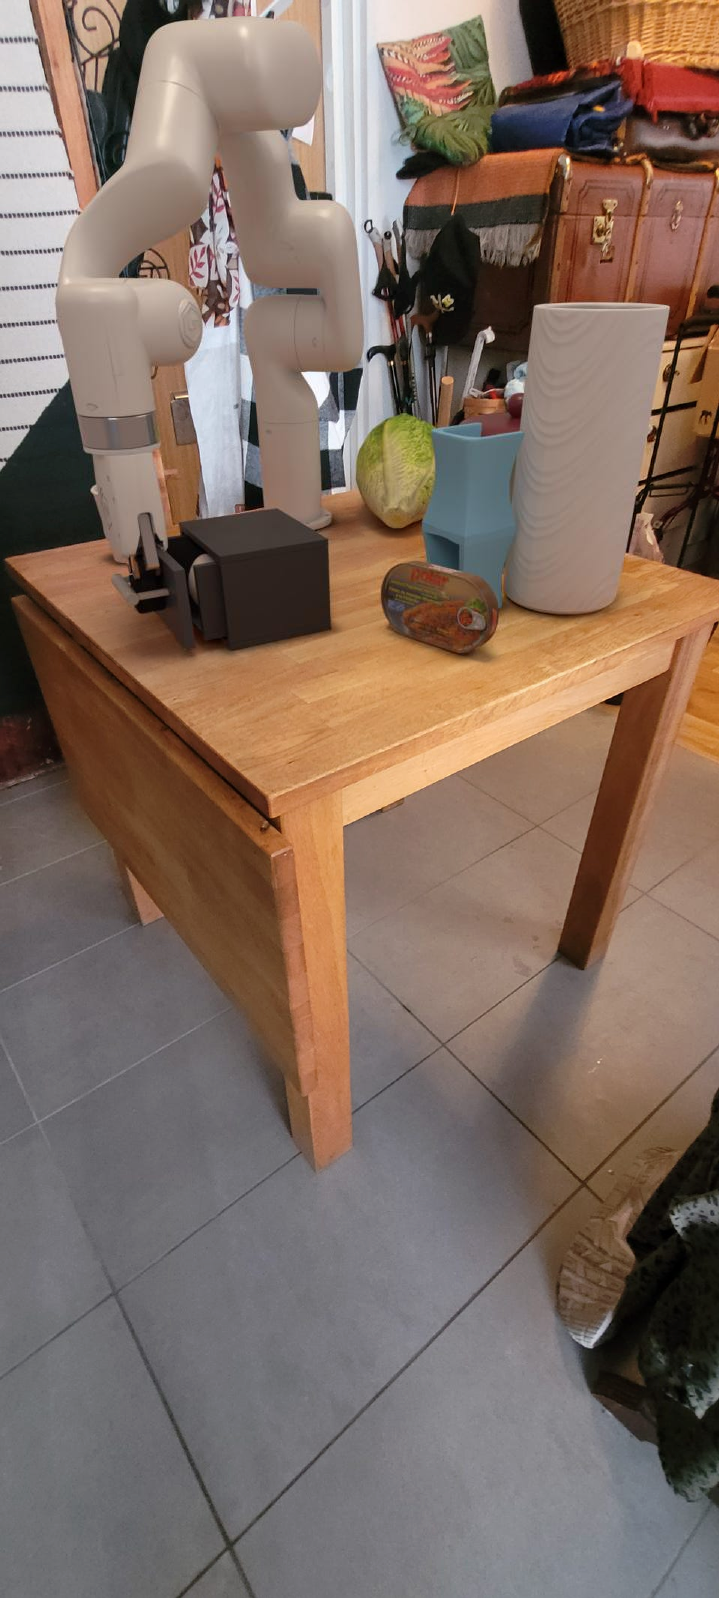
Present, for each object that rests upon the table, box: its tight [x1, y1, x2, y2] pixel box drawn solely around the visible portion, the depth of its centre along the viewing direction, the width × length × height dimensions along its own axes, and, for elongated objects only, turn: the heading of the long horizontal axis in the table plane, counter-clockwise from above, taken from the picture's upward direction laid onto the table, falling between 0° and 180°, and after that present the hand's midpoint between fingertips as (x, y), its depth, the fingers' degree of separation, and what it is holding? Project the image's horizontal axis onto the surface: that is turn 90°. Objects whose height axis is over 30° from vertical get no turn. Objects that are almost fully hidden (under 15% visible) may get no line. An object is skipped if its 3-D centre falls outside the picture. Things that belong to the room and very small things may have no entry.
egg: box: [188, 554, 217, 605], centre depth 88 cm, size 5×5×7 cm
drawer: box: [110, 534, 227, 651], centre depth 88 cm, size 16×13×9 cm
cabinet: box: [178, 508, 332, 651], centre depth 90 cm, size 13×15×11 cm
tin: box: [380, 560, 500, 654], centre depth 85 cm, size 15×3×8 cm, turn 47°
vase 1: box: [421, 422, 525, 609], centre depth 91 cm, size 8×8×20 cm
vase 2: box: [503, 301, 671, 616], centre depth 89 cm, size 14×14×32 cm
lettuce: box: [355, 412, 437, 529], centre depth 126 cm, size 15×24×16 cm
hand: (150, 609), depth 87 cm, fingers closed
